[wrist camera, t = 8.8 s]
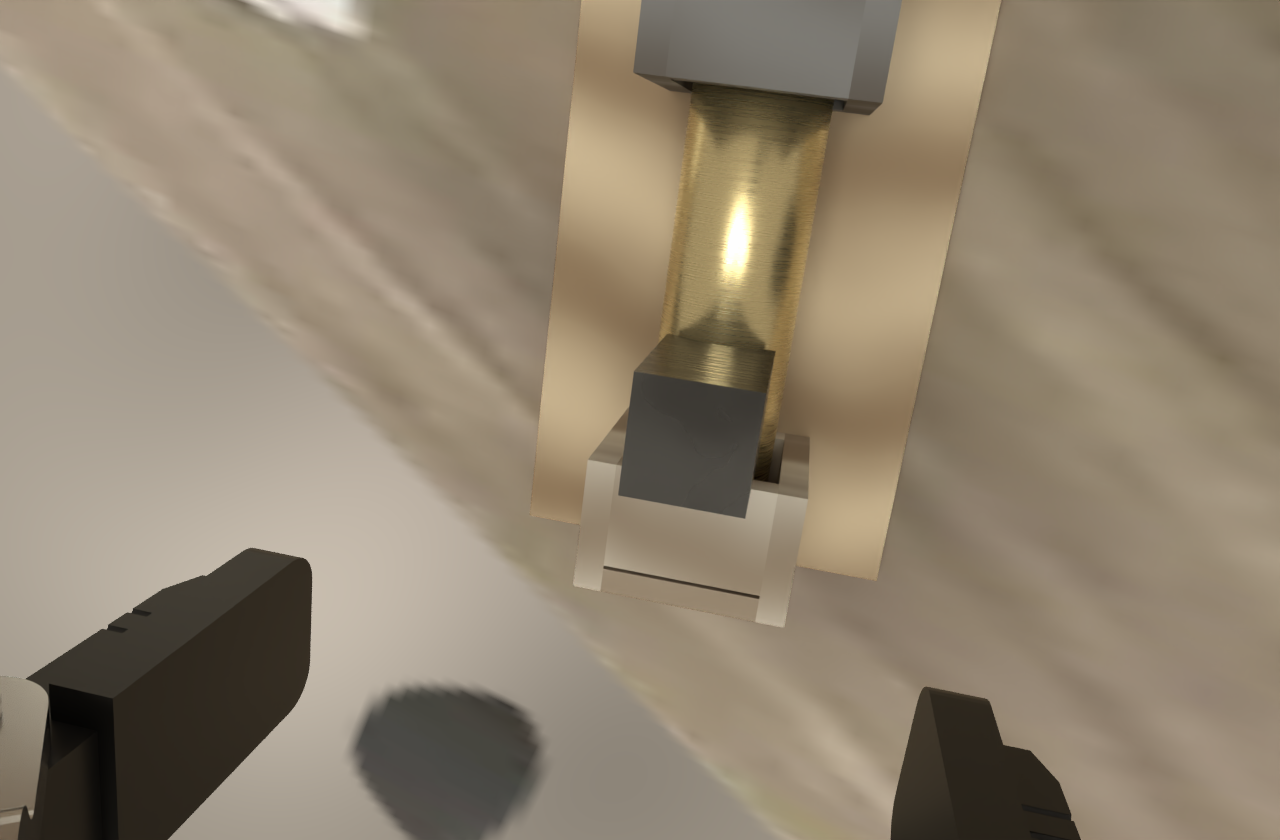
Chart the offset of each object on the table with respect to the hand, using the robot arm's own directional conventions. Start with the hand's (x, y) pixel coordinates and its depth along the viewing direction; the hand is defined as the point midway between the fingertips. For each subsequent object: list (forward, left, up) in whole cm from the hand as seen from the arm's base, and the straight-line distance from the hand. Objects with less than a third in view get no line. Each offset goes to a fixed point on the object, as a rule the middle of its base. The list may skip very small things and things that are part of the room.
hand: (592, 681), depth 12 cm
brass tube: (-4, 0, -18) cm, 19 cm away
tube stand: (-8, 0, -21) cm, 22 cm away
